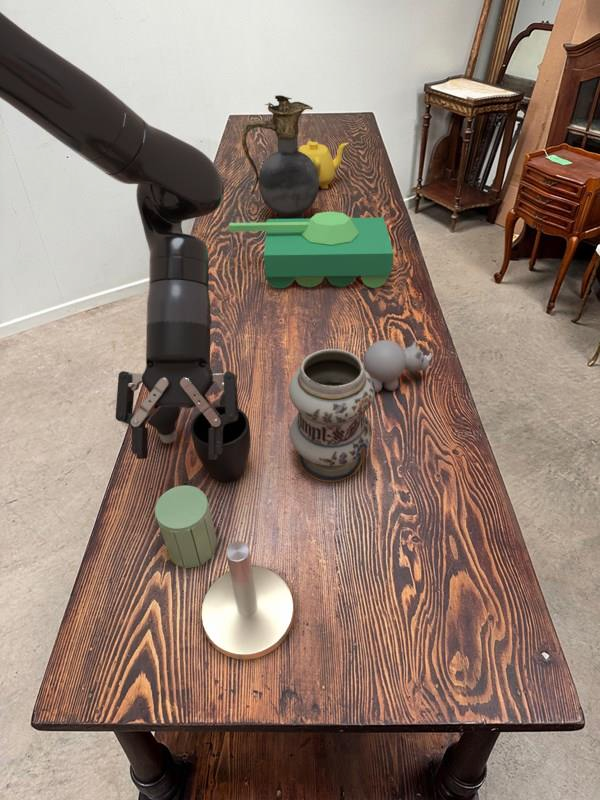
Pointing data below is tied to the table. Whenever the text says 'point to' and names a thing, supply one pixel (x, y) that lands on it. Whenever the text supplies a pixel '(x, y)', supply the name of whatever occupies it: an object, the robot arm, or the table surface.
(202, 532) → the green grooved cylinder
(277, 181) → the pitcher
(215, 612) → the towel holder
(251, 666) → the table surface
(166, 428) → the light bulb
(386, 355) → the chubby cartoon animal
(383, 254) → the toy tank
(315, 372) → the apothecary jar
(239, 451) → the mug
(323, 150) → the teapot
